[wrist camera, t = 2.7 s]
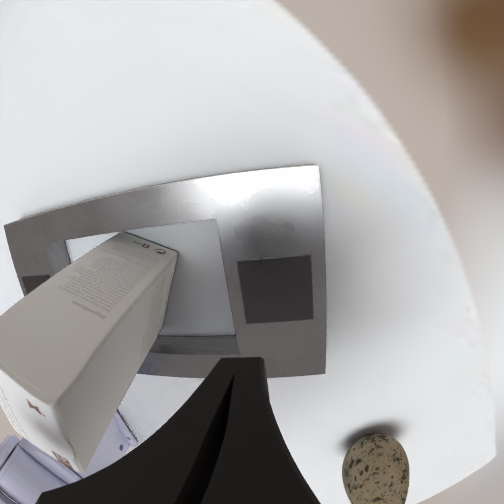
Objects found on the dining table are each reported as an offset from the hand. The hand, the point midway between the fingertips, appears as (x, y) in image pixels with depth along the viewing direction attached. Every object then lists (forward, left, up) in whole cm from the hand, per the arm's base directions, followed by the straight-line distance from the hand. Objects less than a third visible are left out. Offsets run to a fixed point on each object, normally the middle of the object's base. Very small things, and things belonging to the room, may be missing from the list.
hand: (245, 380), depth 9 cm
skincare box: (0, +8, -9) cm, 11 cm away
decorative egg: (-18, -8, -9) cm, 22 cm away
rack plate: (0, +8, -8) cm, 11 cm away
